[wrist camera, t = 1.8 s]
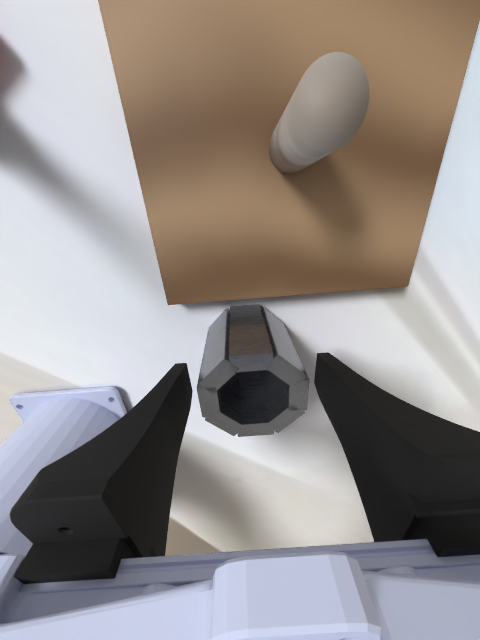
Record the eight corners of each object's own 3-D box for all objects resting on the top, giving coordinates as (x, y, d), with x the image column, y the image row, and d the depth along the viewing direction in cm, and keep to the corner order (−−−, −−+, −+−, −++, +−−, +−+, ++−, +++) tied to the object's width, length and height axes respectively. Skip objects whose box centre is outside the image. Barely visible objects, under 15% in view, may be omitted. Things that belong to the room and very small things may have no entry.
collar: (283, 366, 17) (304, 431, 12) (214, 372, 17) (207, 439, 12) (284, 302, 15) (311, 349, 10) (204, 308, 15) (190, 358, 10)
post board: (394, 280, 14) (486, 320, 9) (172, 297, 14) (139, 347, 9) (486, -104, 8) (941, -664, 3) (93, -71, 8) (-151, -564, 3)
